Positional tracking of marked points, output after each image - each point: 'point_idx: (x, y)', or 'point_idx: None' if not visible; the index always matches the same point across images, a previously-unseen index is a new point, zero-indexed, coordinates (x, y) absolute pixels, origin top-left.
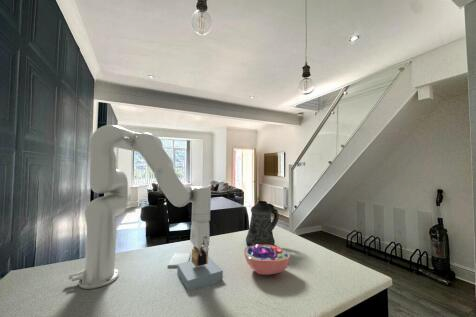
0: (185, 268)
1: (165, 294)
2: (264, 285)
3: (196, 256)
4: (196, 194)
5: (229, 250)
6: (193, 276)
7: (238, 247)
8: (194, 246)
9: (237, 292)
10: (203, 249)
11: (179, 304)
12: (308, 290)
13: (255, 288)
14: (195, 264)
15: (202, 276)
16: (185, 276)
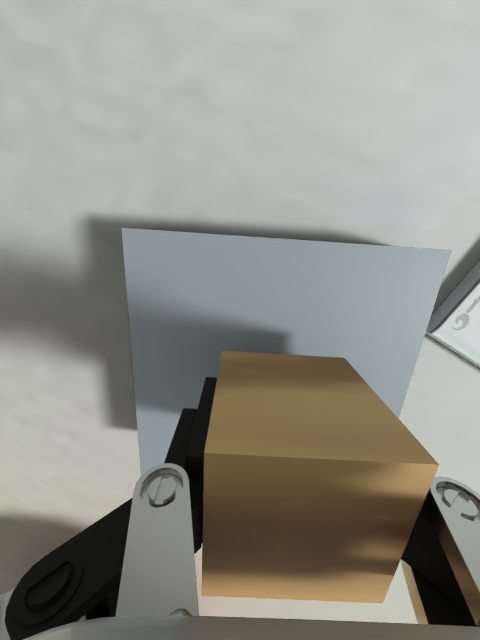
0: (323, 283)
1: (187, 72)
2: (37, 538)
3: (210, 422)
4: None
5: (403, 581)
6: (165, 292)
7: (396, 620)
8: (461, 542)
9: (31, 438)
10: (292, 575)
11: (40, 132)
12: None
13: (31, 504)
14: (231, 359)
15: (132, 348)
16: (198, 235)
